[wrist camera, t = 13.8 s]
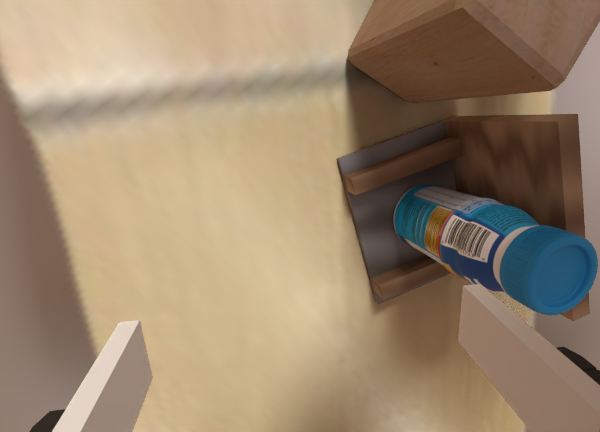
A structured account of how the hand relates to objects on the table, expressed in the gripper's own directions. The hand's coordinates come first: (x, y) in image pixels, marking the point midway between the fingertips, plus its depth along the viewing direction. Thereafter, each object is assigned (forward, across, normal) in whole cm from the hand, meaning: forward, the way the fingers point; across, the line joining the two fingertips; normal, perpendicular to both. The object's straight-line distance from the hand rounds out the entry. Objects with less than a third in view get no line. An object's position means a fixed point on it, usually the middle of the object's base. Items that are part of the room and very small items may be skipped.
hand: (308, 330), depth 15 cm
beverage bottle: (+30, +18, -6) cm, 36 cm away
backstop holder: (+31, +17, -6) cm, 35 cm away
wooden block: (+32, +15, +14) cm, 38 cm away
